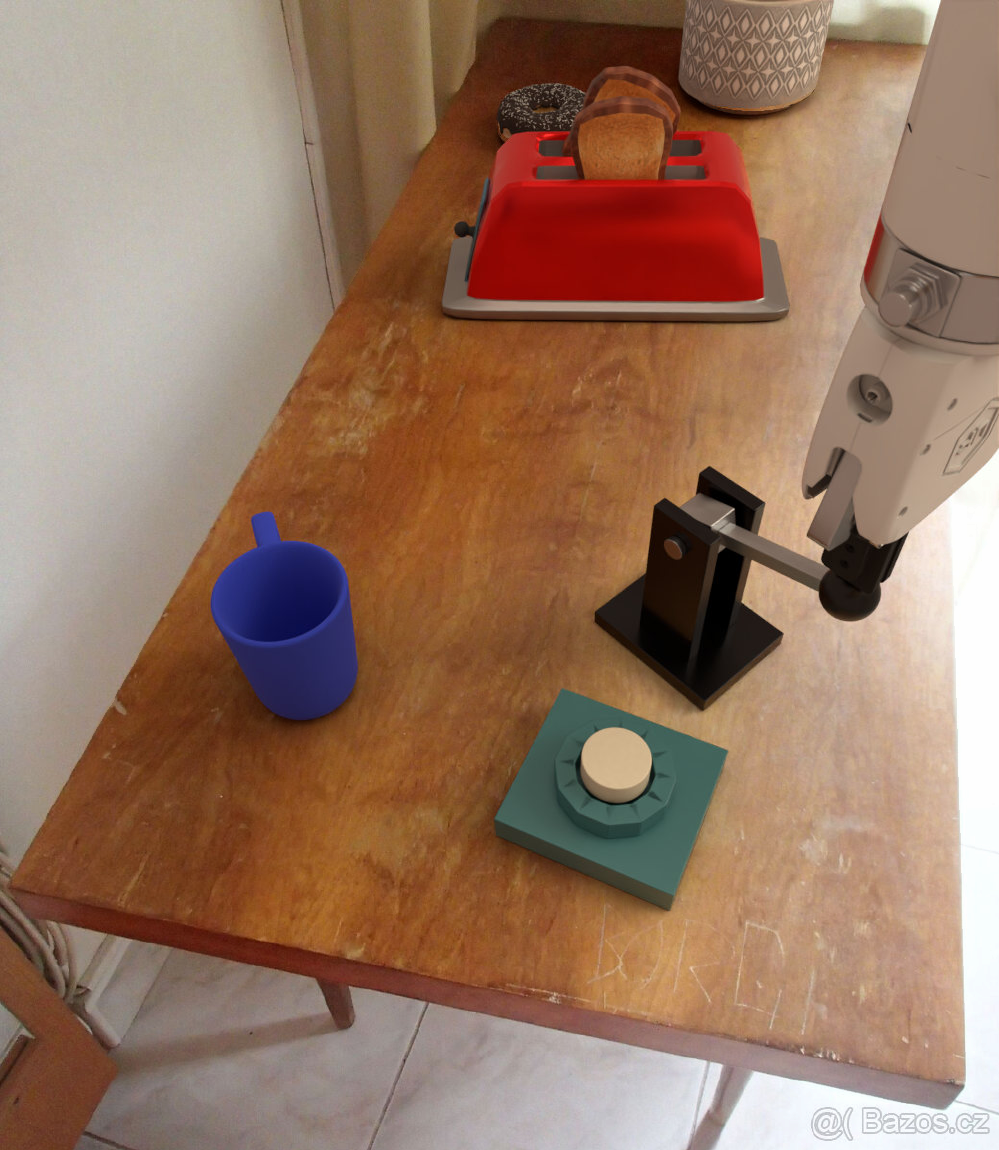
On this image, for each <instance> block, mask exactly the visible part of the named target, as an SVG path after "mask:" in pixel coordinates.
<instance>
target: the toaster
mask: <svg viewBox="0 0 999 1150" xmlns="http://www.w3.org/2000/svg"><path fill="white" fill-rule="evenodd" d="M585 94H586V95H585V97H584V101H583V105H582V109H581V111H580V112H579V113H577V114H576V115H575V118H574V121H573V124H572V127H571V130H570V131H560V132H522V133H516V134H513V135H512V136H511V137H510V138H509V139H508V140H507V141H506V142H504V143H503V144H502V145H501V146H500V147H499V148H498V149H497V150H496V154H495V156H494V159H493V163H492V165H491V168H490V171H489V174H488V177H485V179H484V183H483V187H482V191H481V195H480V201H479V205H478V210H477V213H476V214H477V215H476V220H475V224H474V225H473V226H472V225H469V224H468V222H466V221H464V220H460V221H457V222H456V224H455V225H454V228H453V231H454V233H455V235H456V236H457V237H458V238H454V239H453V240H452V242H451V245H450V252H449V257H448V263H447V270H446V274H445V275H446V276H445V281H444V287H443V292H442V299H441V307H442V308H441V309H442V312H443V313H444V314H445V315H448V316H451V317H454V318H459V319H476V320H522V321H523V320H526V321H527V320H530V321H531V320H533V321H535V320H536V321H538V320H539V321H543V320H544V321H545V320H546V321H556V320H557V321H641V322H642V321H646V322H647V321H648V322H649V321H652V322H654V321H656V322H657V321H658V322H762V321H763V322H765V321H774V320H777V319H782V318H784V317H786V316H787V315H788V314H789V312H790V306H791V305H790V301H789V296H788V291H787V286H786V281H785V276H784V272H783V267H782V263H781V257H780V252H779V247H778V244H777V242H776V241H775V240H774V239H770V238H767V237H761V236H760V232H759V227H758V221H757V216H756V210H755V206H754V200H753V196H752V195H753V194H752V190H751V184H750V181H749V176H748V172H747V168H746V164H745V163H746V162H745V159H744V155H743V151H742V149H741V148H740V146H739V145H738V144H737V143H736V141H734V140H733V139H732V137H730V135H729V134H728V133H727V132H722V131H716V130H678V127H679V123H680V118H681V114H682V111H681V107H680V104H679V103H678V101H677V99H676V97H675V95H674V92H673V91H672V89H671V88H669V86H667V85H666V84H665V83H663V82H662V81H661V80H660V79H658V78H657V77H656V76H654V75H653V74H652V73H649V72H646V71H643V70H640V69H637V68H634V67H632V66H629V65H621V66H620V65H619V66H611V67H605V68H604V69H603V70H601V72H600V73H599V74H597V75H596V76H595V77H594V78H593V79H592V80H591V81H590V83H589V86H588V88H587V90H586V92H585Z"/></svg>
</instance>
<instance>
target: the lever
mask: <svg viewBox="0 0 999 1150" xmlns="http://www.w3.org/2000/svg"><path fill="white" fill-rule="evenodd" d="M678 507H679V508H681V509H682V510H683V511H685V512H686V513H688V514H689V515H691V516H692V517H693V518H695V519H696V520H698V521H699V522H701V523H702V524H703V525H705V526H706V527H708V528H709V529H711V530H712V531H713V532H715V533H716V534H718V535H719V536H721V541H720V546H719V551H718V553H719V552H720V551H722V550H723V549H724V548H725V547H726V548H728V549H730V550H732V551H735V552H737V553H739V554H741V555H743V556H745V557H747V558H749V559H751V560H752V561H753V562H755V563H757V564H760V565H762V566H764V567H765V568H768V569H769V570H772V571H774V572H776V573H778V574H780V575H782V576H785V577H786V578H789V579H790V580H793V581H795V582H797V583H799V584H801V585H803V586H805V587H807V588H809V589H811V590H813V591H815V592H817V593H818V600H819V602H820V604H821V606H822V608H823V610H824V611H825V612H826V613H827V614H828V615H829V616H831V617H832V618H834V619H836V620H838V621H842V622H847V623H848V622H850V623H853V622H859V621H862V620H864V619H866V618H868V617H870V616H871V615H872V614H873V613H874V612H875V611H876V609H877V608H878V606H879V605H880V602H881V598H882V585H881V583H880V584H879V586H878V588H877V589H876V590H874V591H873V592H872V593H871V594H866V593H864V592H863V591H861V590H860V589H858V588H857V587H855V586H854V585H852V584H851V583H850V582H848V581H847V580H845V579H843V578H842V577H840V576H839V575H837V574H836V573H835V572H833V571H832V570H830V569H829V568H827V567H826V566H825V565H824V564H823V563H819V562H817V561H815V560H813V559H811V558H808V557H806V556H804V555H802V554H800V553H797V552H796V551H793V550H791V549H789V548H787V547H784V546H783V545H780V544H778V543H776V542H774V541H772V540H769V539H767V538H765V537H763V536H761V535H759V534H758V535H756V534H754V533H752V532H750V531H748V530H746V529H743V528H741V527H739V526H737V525H736V522H735V508H733V507H731V506H728V505H726V504H724V503H722V502H719V501H717V500H715V499H713V498H710V497H708V496H706V495H704V494H702V493H698V494H697V495H696V494H695V495H694V496H692V497H691V498H690V499H689V500H687V501H685V503H683V504H682V505H680V506H678Z"/></svg>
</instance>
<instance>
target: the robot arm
mask: <svg viewBox="0 0 999 1150" xmlns="http://www.w3.org/2000/svg"><path fill="white" fill-rule="evenodd" d="M921 64H922V65H921V68H920V71H919V75H918V78H917V82H916V86H915V89H914V92H913V94H912V99H911V103H910V106H909V110H908V113H907V117H906V120H905V124H904V127H903V130H902V131H903V132H902V135H901V138H900V141H899V145H898V148H897V152H896V155H895V159H894V163H893V166H892V169H891V173H890V178H889V180H888V183H887V187H886V191H885V194H884V198H883V202H882V205H881V208H880V212H879V214H878V219H877V222H876V226H875V230H874V232H873V235H872V239H871V243H870V247H869V250H868V253H867V256H866V260H865V263H864V266H863V271H862V274H861V277H860V283H859V289H860V290H859V291H860V296H861V299H862V301H863V304H864V307H862V309H861V311H860V313H859V315H858V317H857V319H856V322H855V325H854V326H853V329H852V331H851V333H850V335H849V338H848V341H847V343H846V345H845V347H844V350H843V352H842V355H841V357H840V358H839V362H838V365H837V366H836V369H835V372H834V374H833V377H832V380H831V383H830V385H829V388H828V390H827V394H826V396H825V399H824V402H823V404H822V407H821V409H820V412H819V415H818V418H817V421H816V424H815V427H814V430H813V434H812V437H811V440H810V443H809V448H808V450H807V454H806V457H805V461H804V466H803V471H802V476H801V492H802V496H803V499H805V500H806V501H807V500H811V499H814V498H816V497H817V496H819V495H820V494H823V492H824V491H825V492H824V494H823V497H822V499H821V501H820V503H819V506H818V507H817V510H816V512H815V515H814V517H813V519H812V521H811V523H810V525H809V527H808V530H807V532H806V537H807V538H808V539H810V540H811V541H813V542H814V543H815V544H816V545H819V546H820V547H822V548H823V550H822V554H821V557H820V562H821V564H822V565H824V566H826V567H827V568H829V569H830V570H832V571H833V572H835V573H836V574H837V575H839V576H840V577H842V578H843V579H845V580H847V581H848V582H850V583H851V584H852V585H854V586H855V587H857V588H858V589H860V590H861V591H863V592H864V593H866V594H871V593H872V592H873V591H874V590H876V589H877V588H878V586H879V584H880V585H881V584H883V583H885V582H886V581H887V580H889V578H890V577H891V575H892V573H893V571H894V568H895V566H896V564H897V561H898V560H899V557H900V554H901V552H902V550H903V548H904V546H905V543H906V541H907V538H908V536H909V533H910V531H912V530H913V529H914V528H915V527H916V526H918V525H919V524H920V523H921V522H923V520H925V519H926V518H927V517H928V516H929V515H931V514H932V513H933V512H934V511H935V510H936V509H937V508H939V507H940V506H941V505H942V504H944V502H946V501H947V500H948V499H949V498H950V497H951V496H953V495H954V494H955V493H956V492H957V491H959V489H961V487H963V486H964V485H965V484H966V483H967V482H968V481H969V480H971V478H973V477H974V476H975V475H976V474H977V473H979V471H981V469H983V468H984V467H985V466H986V464H987V463H989V461H990V460H991V459H992V458H993V457H994V455H996V452H998V450H999V0H940V2H939V4H938V9H937V12H936V16H935V19H934V23H933V26H932V30H931V33H930V37H929V40H928V42H927V47H926V50H925V54H924V57H923V61H922V63H921Z"/></svg>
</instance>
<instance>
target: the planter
mask: <svg viewBox="0 0 999 1150" xmlns="http://www.w3.org/2000/svg"><path fill="white" fill-rule="evenodd" d="M834 4H835V0H686V1H685V8H684V9H685V10H684V18H683V30H682V38H681V39H682V40H681V48H680V59H679V68H678V77H677V78H678V82H679V83H678V84H679V85H680V87H681V89H683V90H684V92H685V93H687V94H688V95H689V96H691V97H692V98H693V99H696V100H697V101H698V102H699V103H701V104H703V106H706V107H708V108H709V109H713V110H716V111H719V112H723V113H729V114H733V115H746V116H747V115H749V116H752V115H766V114H771V113H776V112H780V111H783V110H785V109H787V108H789V107H790V106H787V107H784V108H779V109H773V110H764V111H742V110H732V109H726V108H721V106H722V107H729V108H739V109H740V108H744V109H745V108H748V109H750V108H753V109H754V108H760V107H767V106H768V107H769V106H776V105H781V104H785V103H788V102H792V101H794V100H797V99H799V98H801V97H803V96H805V95H806V94H808V93H810V92H812V91H813V90H814V89H815V87H816V88H817V86H816V85H818V82H819V81H818V80H819V76H820V72H821V67H822V61H823V57H824V53H825V46H826V42H827V38H828V33H829V28H830V23H831V18H832V14H833V9H834ZM815 90H816V89H815ZM815 90H814V91H815ZM704 102H705V103H704ZM713 105H714V106H713ZM717 106H720V107H717Z"/></svg>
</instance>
